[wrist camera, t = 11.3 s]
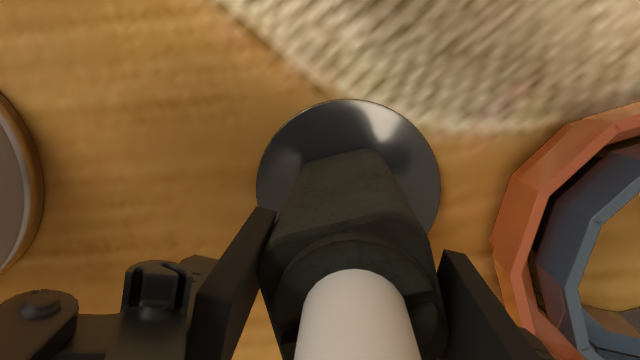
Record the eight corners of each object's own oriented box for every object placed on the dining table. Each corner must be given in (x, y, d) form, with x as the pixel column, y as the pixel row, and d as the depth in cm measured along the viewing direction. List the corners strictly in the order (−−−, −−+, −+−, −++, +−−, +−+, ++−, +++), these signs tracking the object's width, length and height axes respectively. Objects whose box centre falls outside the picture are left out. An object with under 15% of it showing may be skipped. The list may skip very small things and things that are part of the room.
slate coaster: (242, 253, 28) (240, 256, 27) (276, 80, 25) (275, 79, 25) (411, 291, 28) (413, 295, 27) (461, 122, 25) (464, 122, 25)
